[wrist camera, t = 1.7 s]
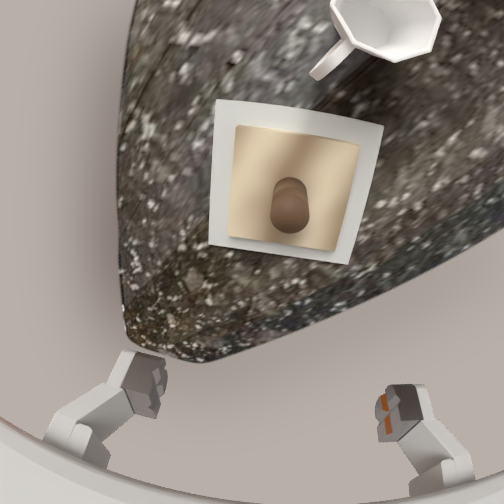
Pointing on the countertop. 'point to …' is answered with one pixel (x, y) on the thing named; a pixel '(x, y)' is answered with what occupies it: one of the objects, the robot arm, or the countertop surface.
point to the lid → (290, 186)
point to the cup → (380, 30)
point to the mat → (301, 122)
